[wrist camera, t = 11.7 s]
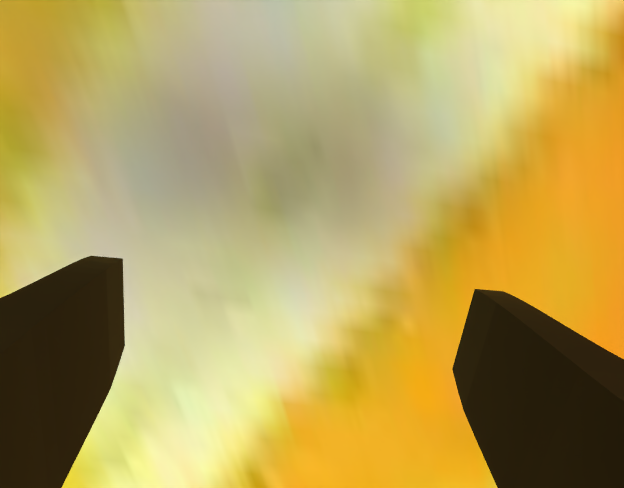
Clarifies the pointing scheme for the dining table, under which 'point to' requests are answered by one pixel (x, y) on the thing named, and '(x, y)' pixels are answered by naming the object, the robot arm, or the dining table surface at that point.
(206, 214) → the dining table surface
